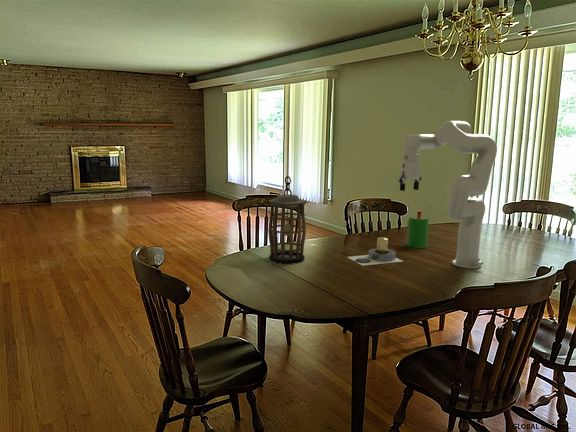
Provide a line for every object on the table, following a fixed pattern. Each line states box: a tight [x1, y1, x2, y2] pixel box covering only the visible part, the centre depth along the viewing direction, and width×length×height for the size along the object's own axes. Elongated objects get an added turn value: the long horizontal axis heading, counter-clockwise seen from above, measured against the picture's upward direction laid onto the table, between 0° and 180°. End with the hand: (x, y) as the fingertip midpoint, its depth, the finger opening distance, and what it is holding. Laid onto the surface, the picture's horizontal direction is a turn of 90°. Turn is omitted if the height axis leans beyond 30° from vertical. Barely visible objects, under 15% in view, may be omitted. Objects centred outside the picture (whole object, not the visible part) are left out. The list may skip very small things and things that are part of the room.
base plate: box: [347, 254, 403, 267], centre depth 217 cm, size 15×22×1 cm
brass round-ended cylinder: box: [376, 236, 389, 254], centre depth 219 cm, size 5×5×10 cm
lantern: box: [266, 175, 308, 265], centre depth 215 cm, size 19×19×40 cm
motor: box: [406, 209, 430, 249], centre depth 245 cm, size 10×9×20 cm
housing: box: [367, 247, 397, 261], centre depth 219 cm, size 13×13×3 cm
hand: (409, 190), depth 245 cm, fingers open, 9 cm apart
